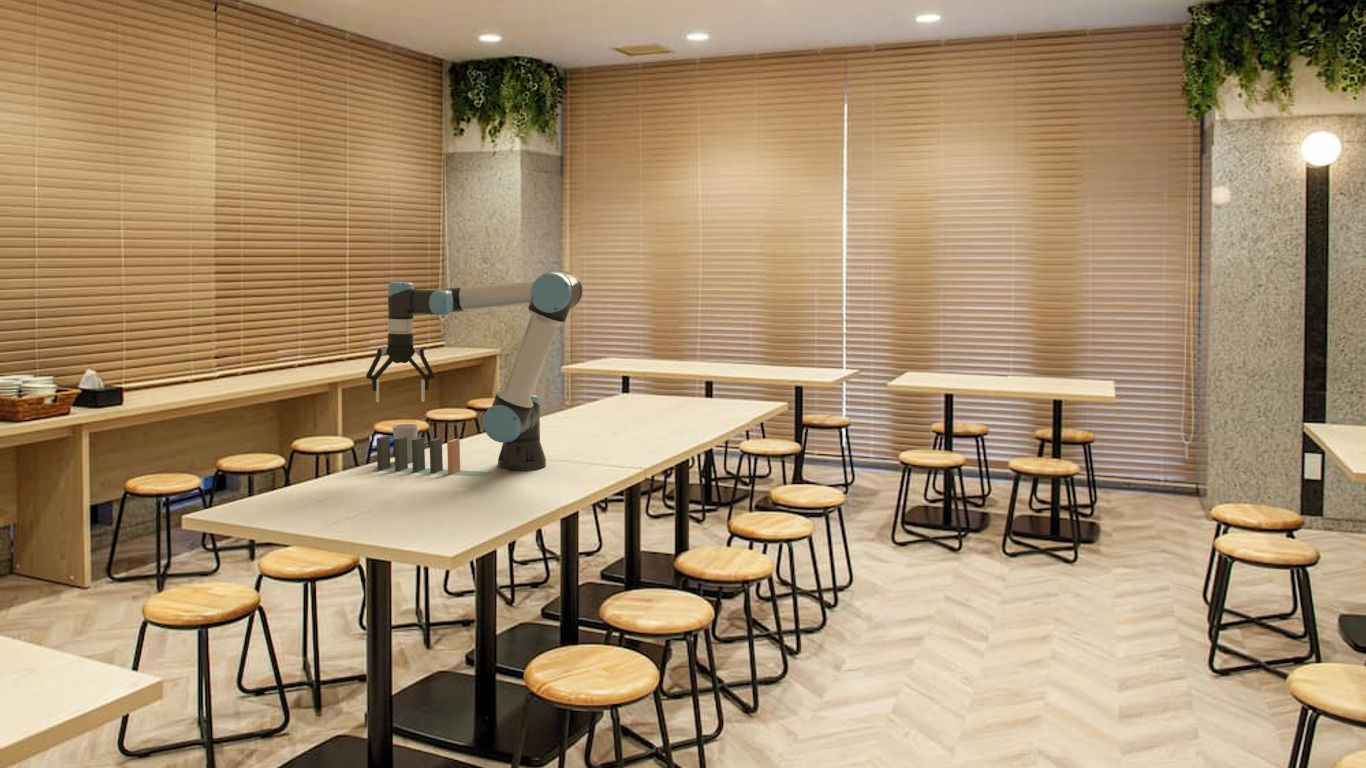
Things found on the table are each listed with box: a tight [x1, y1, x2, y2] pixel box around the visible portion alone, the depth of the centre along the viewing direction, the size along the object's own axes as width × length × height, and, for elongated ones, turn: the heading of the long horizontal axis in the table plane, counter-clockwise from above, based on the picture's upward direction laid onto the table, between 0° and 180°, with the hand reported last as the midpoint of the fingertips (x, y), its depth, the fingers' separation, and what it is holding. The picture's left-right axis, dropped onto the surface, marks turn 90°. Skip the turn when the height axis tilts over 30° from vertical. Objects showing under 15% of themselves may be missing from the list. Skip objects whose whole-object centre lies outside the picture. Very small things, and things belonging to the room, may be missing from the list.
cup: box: [392, 423, 419, 464], centre depth 348 cm, size 8×8×12 cm
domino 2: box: [393, 437, 409, 471], centre depth 334 cm, size 2×5×10 cm, turn 165°
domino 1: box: [376, 435, 392, 470], centre depth 336 cm, size 2×5×10 cm, turn 165°
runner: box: [370, 466, 494, 478], centre depth 332 cm, size 38×7×1 cm, turn 76°
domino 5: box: [446, 438, 461, 474], centre depth 330 cm, size 2×5×10 cm, turn 165°
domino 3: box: [411, 436, 426, 472], centre depth 333 cm, size 2×5×10 cm, turn 166°
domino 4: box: [429, 437, 444, 473], centre depth 332 cm, size 2×5×10 cm, turn 165°
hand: (400, 401), depth 332 cm, fingers open, 13 cm apart
